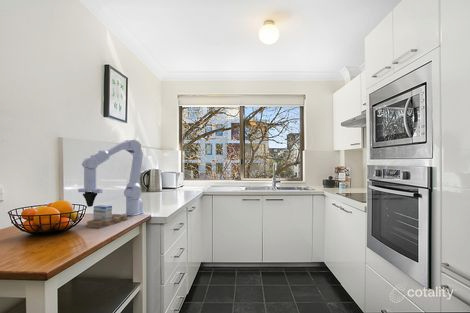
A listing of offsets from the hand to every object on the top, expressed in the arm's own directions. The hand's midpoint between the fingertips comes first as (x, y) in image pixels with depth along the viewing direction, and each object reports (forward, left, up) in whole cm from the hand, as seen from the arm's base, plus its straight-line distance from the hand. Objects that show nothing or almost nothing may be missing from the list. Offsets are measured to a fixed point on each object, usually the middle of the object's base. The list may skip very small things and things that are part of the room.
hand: (90, 206), depth 143 cm
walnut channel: (0, +12, -8) cm, 14 cm away
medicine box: (0, +8, -8) cm, 12 cm away
